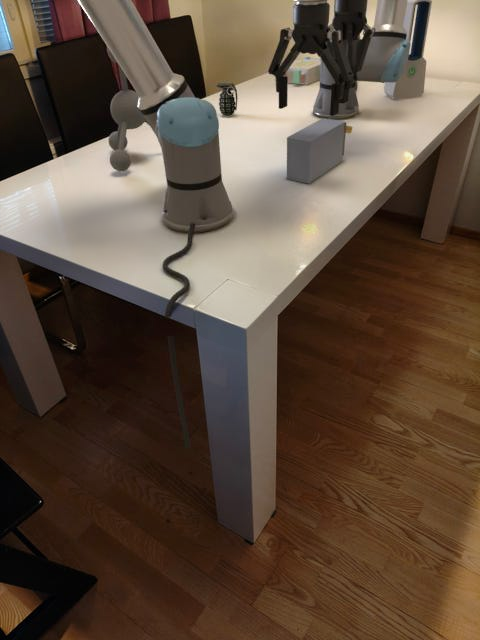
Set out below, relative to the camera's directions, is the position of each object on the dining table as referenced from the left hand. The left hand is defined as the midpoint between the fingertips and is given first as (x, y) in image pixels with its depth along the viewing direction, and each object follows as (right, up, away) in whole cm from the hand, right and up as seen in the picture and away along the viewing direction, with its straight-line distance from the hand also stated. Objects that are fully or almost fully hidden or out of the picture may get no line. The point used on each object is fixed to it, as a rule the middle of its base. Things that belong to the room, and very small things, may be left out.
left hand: (307, 110), depth 113 cm
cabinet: (+4, -10, +13) cm, 17 cm away
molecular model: (-43, -2, +27) cm, 51 cm away
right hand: (+11, +8, +13) cm, 19 cm away
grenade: (-20, +22, +56) cm, 64 cm away
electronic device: (+44, +33, +65) cm, 85 cm away
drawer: (+7, -6, +16) cm, 18 cm away
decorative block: (+11, +54, +94) cm, 109 cm away
